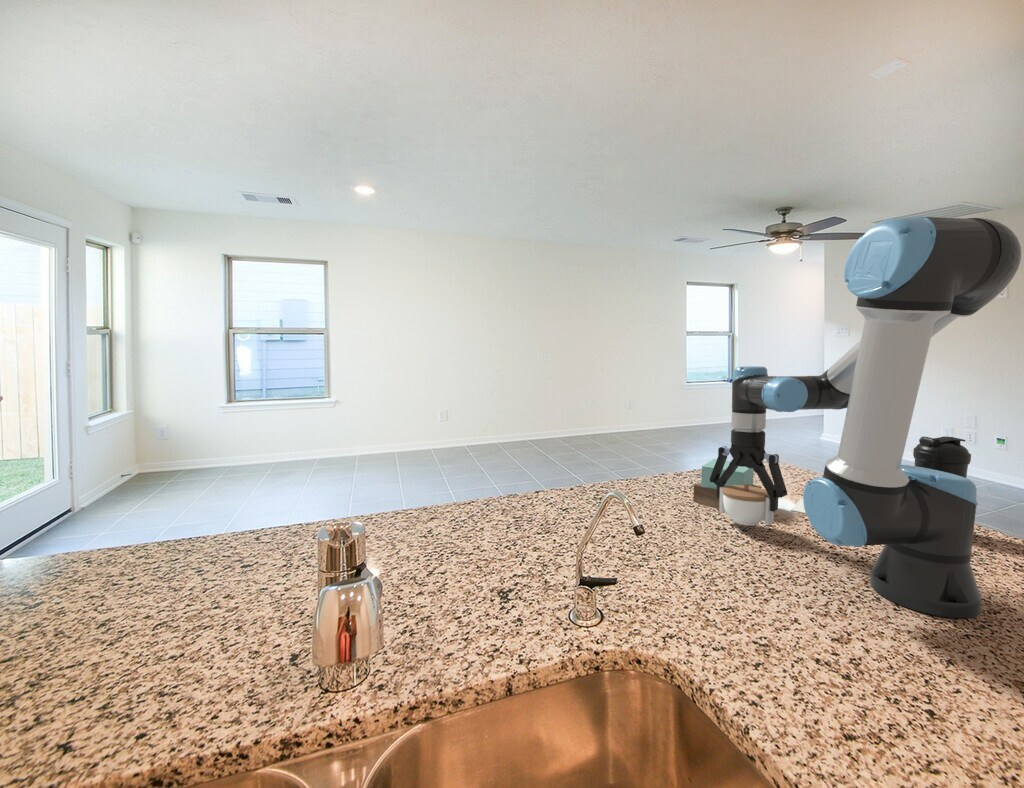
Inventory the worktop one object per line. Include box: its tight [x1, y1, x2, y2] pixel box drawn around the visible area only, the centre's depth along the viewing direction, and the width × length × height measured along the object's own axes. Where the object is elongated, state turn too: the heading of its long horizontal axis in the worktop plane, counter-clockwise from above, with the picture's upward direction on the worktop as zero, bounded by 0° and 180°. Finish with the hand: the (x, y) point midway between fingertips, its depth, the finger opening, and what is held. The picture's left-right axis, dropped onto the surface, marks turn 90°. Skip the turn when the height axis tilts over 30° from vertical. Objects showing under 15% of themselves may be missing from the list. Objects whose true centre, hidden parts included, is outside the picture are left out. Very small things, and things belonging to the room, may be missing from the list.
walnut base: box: [692, 482, 762, 510], centre depth 136 cm, size 13×13×5 cm
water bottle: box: [912, 436, 972, 478], centre depth 114 cm, size 10×10×23 cm
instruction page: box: [790, 497, 806, 514], centre depth 131 cm, size 14×10×1 cm
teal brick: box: [700, 458, 755, 490], centre depth 136 cm, size 11×11×6 cm
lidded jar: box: [722, 484, 769, 526], centre depth 117 cm, size 11×11×9 cm
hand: (745, 517), depth 118 cm, fingers closed on lidded jar, 11 cm apart
